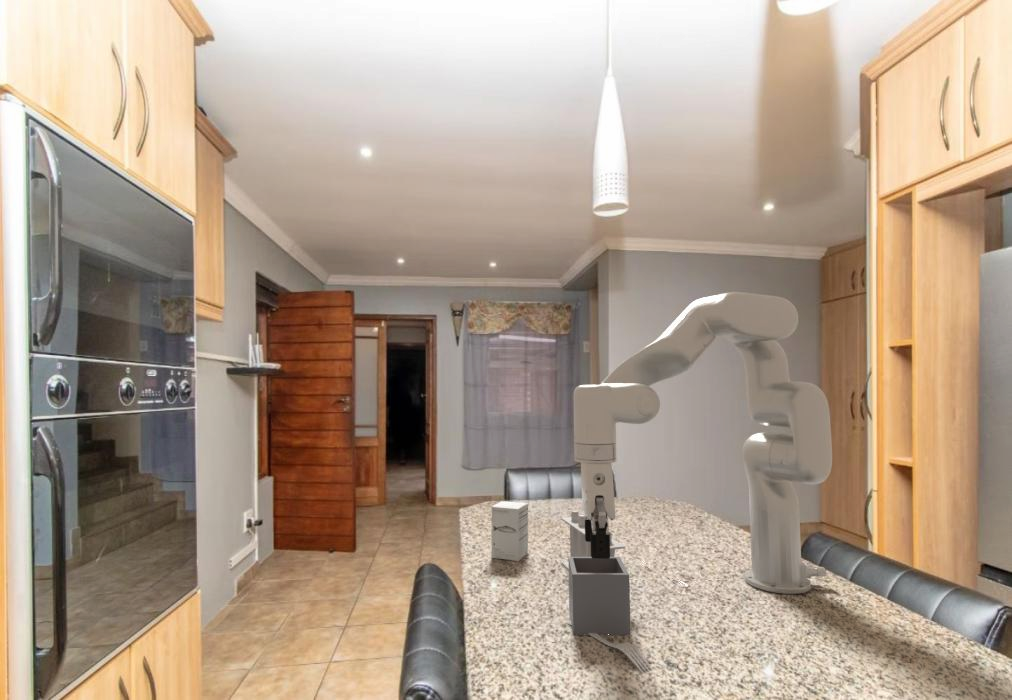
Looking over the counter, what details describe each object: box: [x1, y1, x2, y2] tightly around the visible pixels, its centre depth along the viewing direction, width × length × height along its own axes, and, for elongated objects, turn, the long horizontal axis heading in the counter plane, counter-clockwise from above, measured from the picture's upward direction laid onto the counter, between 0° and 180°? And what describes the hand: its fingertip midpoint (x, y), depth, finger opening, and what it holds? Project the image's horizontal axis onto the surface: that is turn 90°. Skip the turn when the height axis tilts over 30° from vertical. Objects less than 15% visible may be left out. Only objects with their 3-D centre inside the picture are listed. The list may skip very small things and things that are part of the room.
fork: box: [565, 620, 654, 675], centre depth 88 cm, size 3×21×3 cm, turn 28°
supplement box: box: [490, 500, 529, 562], centre depth 134 cm, size 7×7×13 cm
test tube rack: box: [560, 509, 626, 572], centre depth 116 cm, size 25×4×13 cm, turn 14°
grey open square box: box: [567, 556, 631, 636], centre depth 96 cm, size 10×10×10 cm
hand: (596, 549), depth 96 cm, fingers open, 9 cm apart
